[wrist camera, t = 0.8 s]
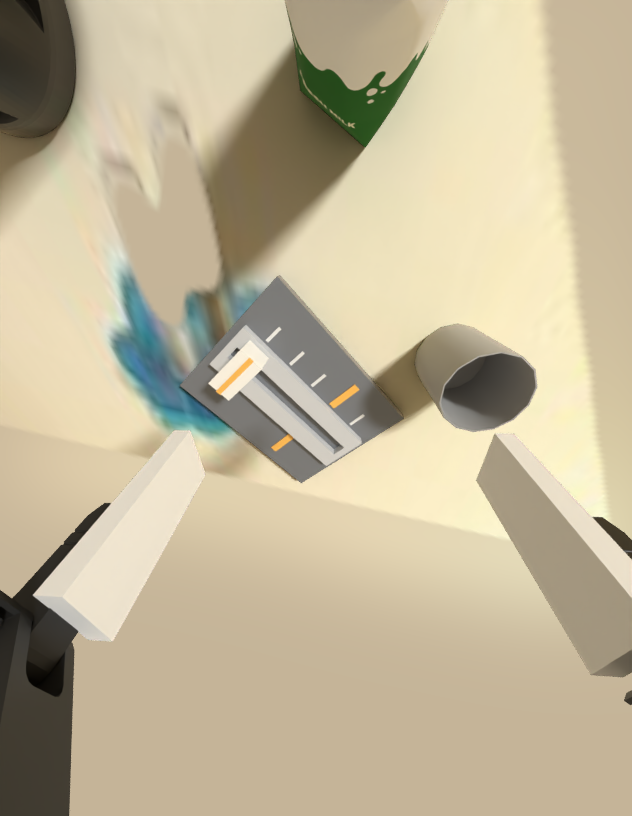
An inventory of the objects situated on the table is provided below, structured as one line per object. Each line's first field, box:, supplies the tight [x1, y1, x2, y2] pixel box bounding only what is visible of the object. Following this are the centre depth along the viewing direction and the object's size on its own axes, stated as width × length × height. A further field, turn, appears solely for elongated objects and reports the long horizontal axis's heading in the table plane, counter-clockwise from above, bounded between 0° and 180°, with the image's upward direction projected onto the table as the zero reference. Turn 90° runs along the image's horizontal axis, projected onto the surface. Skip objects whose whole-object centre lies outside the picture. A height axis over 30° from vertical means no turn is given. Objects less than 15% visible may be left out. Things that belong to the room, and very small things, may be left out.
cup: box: [414, 324, 537, 432], centre depth 29 cm, size 8×8×10 cm
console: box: [180, 275, 404, 483], centre depth 37 cm, size 24×20×3 cm
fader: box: [208, 341, 269, 401], centre depth 32 cm, size 3×6×5 cm, turn 133°
